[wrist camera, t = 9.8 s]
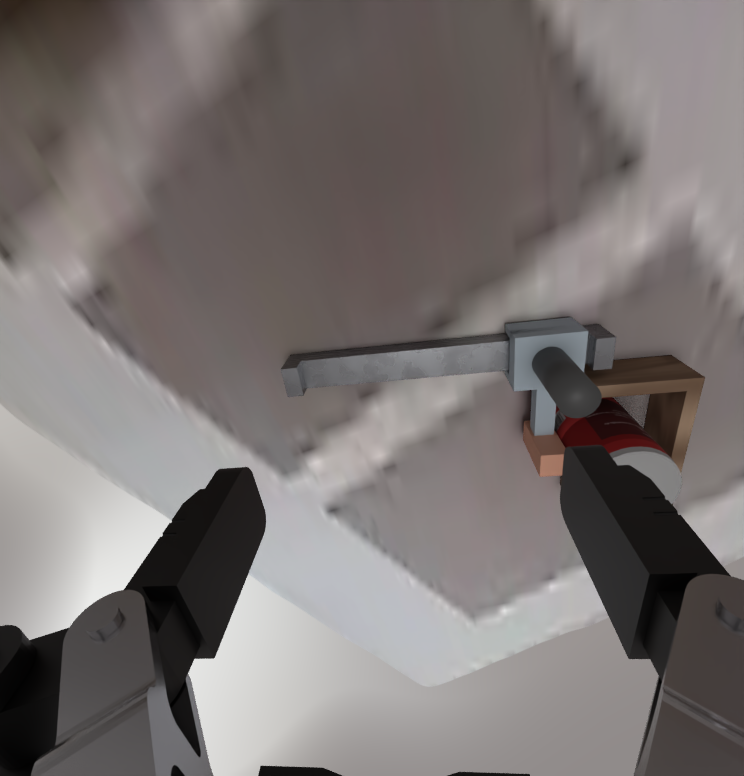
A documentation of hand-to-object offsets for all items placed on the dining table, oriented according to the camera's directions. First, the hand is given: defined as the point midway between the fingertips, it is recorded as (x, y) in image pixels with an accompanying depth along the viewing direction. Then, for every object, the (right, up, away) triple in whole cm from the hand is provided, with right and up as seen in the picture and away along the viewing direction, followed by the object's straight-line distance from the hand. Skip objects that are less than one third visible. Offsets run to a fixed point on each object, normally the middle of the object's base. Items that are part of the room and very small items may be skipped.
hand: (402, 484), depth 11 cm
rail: (+6, +6, +30) cm, 32 cm away
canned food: (+21, -1, +33) cm, 39 cm away
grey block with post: (+16, +3, +31) cm, 34 cm away
